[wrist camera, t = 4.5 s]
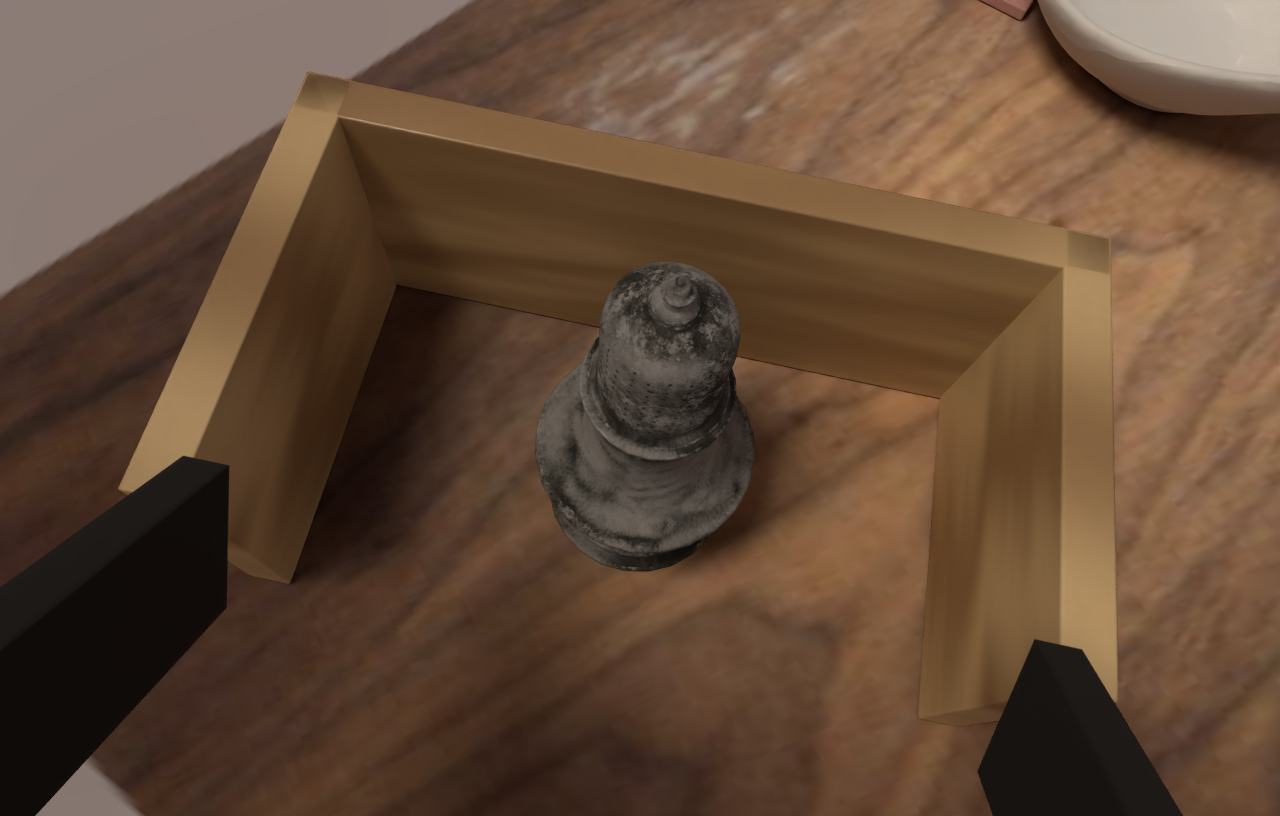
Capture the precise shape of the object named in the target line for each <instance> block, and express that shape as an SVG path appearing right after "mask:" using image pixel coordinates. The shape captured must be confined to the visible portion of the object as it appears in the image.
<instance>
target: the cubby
mask: <svg viewBox="0 0 1280 816" xmlns="http://www.w3.org/2000/svg"><path fill="white" fill-rule="evenodd" d="M657 262H677V263H682V264H686V265H689V266H693V267H696V268H698V269H700V270H702V271H703V272H705V273H707V274H709V275H711V276H712V277H713V278H714V279H715V280H717V281H718V282H719V283H720V284H721V285H722V286H723V287H724V288H725V289H726V291H727V292H728V294H729V295H730V297H731V298H732V299H733V301H734V304H735V306H736V309H737V312H738V315H739V321H740V338H741V340H740V344H739V349H738V353H737V356H740V357H745V358H749V359H754V360H759V361H764V362H768V363H773V364H778V365H783V366H788V367H792V368H797V369H802V370H807V371H811V372H816V373H821V374H826V375H830V376H835V377H840V378H845V379H850V380H854V381H859V382H864V383H869V384H873V385H878V386H883V387H888V388H892V389H897V390H902V391H907V392H912V393H916V394H921V395H926V396H931V397H935V398H940V405H939V420H938V434H937V449H936V463H935V478H934V492H933V507H932V521H931V535H930V550H929V564H928V579H927V593H926V608H925V622H924V637H923V651H922V666H921V680H920V695H919V709H918V717H919V718H920V719H923V720H927V721H932V722H937V723H941V724H946V725H951V726H955V727H960V726H966V725H973V724H979V723H986V722H992V721H999V720H1000V718H1001V716H1002V713H1003V711H1004V709H1005V706H1006V704H1007V702H1008V699H1009V697H1010V695H1011V692H1012V690H1013V688H1014V686H1015V683H1016V681H1017V679H1018V676H1019V674H1020V672H1021V669H1022V667H1023V665H1024V662H1025V660H1026V658H1027V655H1028V653H1029V651H1030V648H1031V646H1032V644H1033V642H1034V639H1037V640H1041V641H1046V642H1050V643H1055V644H1060V645H1064V646H1069V647H1074V648H1078V649H1082V650H1083V651H1084V653H1085V655H1086V656H1087V658H1088V660H1089V661H1090V663H1091V665H1092V666H1093V668H1094V670H1095V671H1096V673H1097V675H1098V676H1099V678H1100V680H1101V681H1102V683H1103V684H1104V686H1105V688H1106V689H1107V691H1108V693H1109V694H1110V696H1111V698H1112V699H1113V701H1114V703H1115V702H1117V701H1118V657H1117V596H1116V535H1115V475H1114V414H1113V353H1112V293H1111V239H1110V238H1109V237H1104V236H1100V235H1095V234H1090V233H1085V232H1080V231H1076V230H1071V229H1066V228H1061V227H1056V226H1051V225H1047V224H1042V223H1037V222H1032V221H1027V220H1022V219H1018V218H1013V217H1008V216H1003V215H998V214H993V213H989V212H984V211H979V210H974V209H969V208H964V207H960V206H955V205H950V204H945V203H940V202H935V201H931V200H926V199H921V198H916V197H911V196H906V195H902V194H897V193H892V192H887V191H882V190H877V189H873V188H868V187H863V186H858V185H853V184H848V183H844V182H839V181H834V180H829V179H824V178H819V177H815V176H810V175H805V174H800V173H795V172H790V171H786V170H781V169H776V168H771V167H766V166H761V165H757V164H752V163H747V162H742V161H737V160H732V159H728V158H723V157H718V156H713V155H708V154H703V153H699V152H694V151H689V150H684V149H679V148H674V147H670V146H665V145H660V144H655V143H650V142H645V141H641V140H636V139H631V138H626V137H621V136H616V135H612V134H607V133H602V132H597V131H592V130H587V129H583V128H578V127H573V126H568V125H563V124H558V123H554V122H549V121H544V120H539V119H534V118H529V117H525V116H520V115H515V114H510V113H505V112H500V111H496V110H491V109H486V108H481V107H476V106H471V105H467V104H462V103H457V102H452V101H447V100H442V99H438V98H433V97H428V96H423V95H418V94H413V93H409V92H404V91H399V90H394V89H389V88H384V87H380V86H375V85H370V84H365V83H360V82H355V81H352V80H347V79H342V78H338V77H333V76H328V75H323V74H318V73H313V72H308V73H307V75H306V77H305V79H304V81H303V83H302V85H301V88H300V90H299V93H298V94H297V96H296V99H295V101H294V103H293V105H292V108H291V110H290V112H289V114H288V116H287V118H286V121H285V123H284V125H283V127H282V129H281V132H280V134H279V136H278V138H277V140H276V143H275V145H274V147H273V149H272V151H271V154H270V156H269V158H268V160H267V162H266V165H265V167H264V169H263V171H262V173H261V176H260V178H259V180H258V182H257V184H256V187H255V189H254V191H253V193H252V195H251V198H250V200H249V202H248V204H247V206H246V209H245V211H244V213H243V215H242V217H241V220H240V222H239V224H238V226H237V228H236V231H235V233H234V235H233V237H232V239H231V242H230V244H229V246H228V248H227V250H226V253H225V255H224V257H223V259H222V261H221V264H220V266H219V268H218V270H217V272H216V275H215V277H214V279H213V281H212V283H211V286H210V288H209V290H208V292H207V294H206V297H205V299H204V301H203V303H202V305H201V308H200V310H199V312H198V314H197V316H196V319H195V321H194V323H193V325H192V327H191V330H190V332H189V334H188V336H187V338H186V341H185V343H184V345H183V347H182V349H181V352H180V354H179V356H178V358H177V360H176V363H175V365H174V367H173V369H172V371H171V374H170V376H169V378H168V380H167V382H166V385H165V387H164V389H163V391H162V393H161V396H160V398H159V400H158V402H157V404H156V407H155V409H154V411H153V413H152V415H151V418H150V420H149V422H148V424H147V426H146V429H145V431H144V433H143V435H142V437H141V440H140V442H139V444H138V446H137V448H136V451H135V453H134V455H133V457H132V459H131V462H130V464H129V466H128V468H127V470H126V473H125V475H124V477H123V479H122V481H121V484H120V486H119V490H120V491H122V492H123V493H125V494H126V495H129V494H131V493H132V492H133V491H135V490H136V489H137V488H139V487H140V486H142V485H143V484H144V483H146V482H147V481H149V480H150V479H151V478H153V477H154V476H155V475H157V474H158V473H160V472H161V471H162V470H164V469H165V468H167V467H168V466H169V465H171V464H172V463H173V462H175V461H176V460H178V459H179V458H180V457H182V456H188V457H192V458H197V459H202V460H206V461H211V462H216V463H220V464H225V465H229V512H228V560H227V561H229V562H230V563H232V564H233V565H235V566H236V567H238V568H239V569H241V570H242V571H244V572H245V573H247V574H248V575H250V576H254V577H259V578H264V579H268V580H273V581H278V582H282V583H287V584H289V583H290V582H291V580H292V577H293V574H294V571H295V568H296V566H297V563H298V560H299V557H300V554H301V552H302V549H303V546H304V543H305V540H306V538H307V535H308V532H309V529H310V526H311V524H312V521H313V518H314V515H315V512H316V510H317V507H318V504H319V501H320V498H321V496H322V493H323V490H324V487H325V484H326V482H327V479H328V476H329V473H330V470H331V468H332V465H333V462H334V459H335V456H336V454H337V451H338V448H339V445H340V442H341V440H342V437H343V434H344V431H345V428H346V426H347V423H348V420H349V417H350V415H351V412H352V409H353V406H354V403H355V401H356V398H357V395H358V392H359V389H360V387H361V384H362V381H363V378H364V375H365V373H366V370H367V367H368V364H369V361H370V359H371V356H372V353H373V350H374V347H375V345H376V342H377V339H378V336H379V333H380V331H381V328H382V325H383V322H384V319H385V317H386V314H387V311H388V308H389V305H390V303H391V300H392V297H393V294H394V291H395V289H396V286H397V285H401V286H406V287H411V288H416V289H420V290H425V291H430V292H435V293H439V294H444V295H449V296H454V297H458V298H463V299H468V300H473V301H478V302H482V303H487V304H492V305H497V306H501V307H506V308H511V309H516V310H520V311H525V312H530V313H535V314H540V315H544V316H549V317H554V318H559V319H563V320H568V321H573V322H578V323H582V324H587V325H592V326H597V327H600V316H601V312H602V309H603V306H604V303H605V300H606V298H607V297H608V295H609V293H610V292H611V290H612V289H613V288H614V286H615V285H616V283H617V282H618V281H619V280H620V279H621V278H623V277H624V276H625V275H626V274H627V273H629V272H630V271H632V270H634V269H637V268H639V267H641V266H643V265H646V264H651V263H657Z"/></svg>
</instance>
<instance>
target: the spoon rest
mask: <svg viewBox="0 0 1280 816" xmlns="http://www.w3.org/2000/svg"><path fill="white" fill-rule="evenodd" d="M1038 3H1039V6H1040V9H1041V12H1042V14H1043V16H1044V18H1045V21H1046V23H1047V25H1048V26H1049V28H1050V30H1051V31H1052V33H1053V35H1054V36H1055V38H1056V39H1057V41H1058V42H1059V43H1060V44H1061V46H1062V47H1063V48H1064V49H1065V51H1066V52H1067V53H1068V54H1069V55H1070V56H1071V57H1072V58H1073V59H1074V60H1075V61H1076V62H1077V63H1078V64H1079V65H1081V66H1082V67H1083V68H1084V69H1085V70H1087V71H1088V72H1089V73H1090V74H1091V75H1093V76H1094V77H1096V78H1097V79H1099V80H1100V81H1101V82H1102V83H1103V84H1104V85H1106V86H1107V87H1108V88H1109V89H1111V90H1112V91H1113V92H1115V93H1116V94H1118V95H1119V96H1121V97H1122V98H1124V99H1126V100H1128V101H1130V102H1132V103H1134V104H1136V105H1138V106H1141V107H1145V108H1148V109H1151V110H1155V111H1161V112H1170V113H1189V114H1196V115H1246V114H1276V113H1280V0H1038Z"/></svg>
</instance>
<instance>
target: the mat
mask: <svg viewBox="0 0 1280 816" xmlns="http://www.w3.org/2000/svg"><path fill="white" fill-rule="evenodd" d="M981 1H983V2H985V3H987V4H989V5H991V6H993V7H995V8H997V9H999V10H1001V11H1002V12H1004V13H1006V14H1008V15H1010V16H1012V17H1014V18H1016V19H1018V20H1022V18H1023V17H1024V15H1025V14H1026V12H1027V11H1028V9H1029V8H1030V6H1031V5H1032V3H1033V2H1034V0H981Z"/></svg>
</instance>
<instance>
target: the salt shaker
mask: <svg viewBox="0 0 1280 816" xmlns="http://www.w3.org/2000/svg"><path fill="white" fill-rule="evenodd" d="M740 340H741V338H740V321H739V315H738V312H737V309H736V306H735V304H734V301H733V299H732V298H731V297H730V295H729V294H728V292H727V291H726V289H725V288H724V287H723V286H722V285H721V284H720V283H719V282H718V281H717V280H715V279H714V278H713V277H712V276H711V275H709V274H707V273H705V272H703V271H702V270H700V269H698V268H696V267H693V266H689V265H686V264H682V263H677V262H657V263H651V264H646V265H643V266H641V267H639V268H637V269H634V270H632V271H630V272H629V273H627V274H626V275H625V276H624V277H623V278H621V279H620V280H619V281H618V282H617V283H616V285H615V286H614V288H613V289H612V290H611V292H610V293H609V295H608V297H607V298H606V300H605V303H604V306H603V309H602V312H601V316H600V331H599V337H598V338H597V339H596V340H595V342H594V343H593V345H592V346H591V347H590V349H589V350H588V352H587V353H586V356H585V359H584V362H582V363H581V364H579V365H578V366H577V367H576V368H575V369H573V370H572V371H571V372H570V373H569V374H568V375H566V376H565V377H564V378H563V379H562V380H561V381H560V382H559V383H558V385H557V386H556V388H555V389H554V391H553V392H552V393H551V395H550V396H549V398H548V399H547V401H546V402H545V405H544V408H543V411H542V413H541V416H540V419H539V422H538V425H537V430H536V447H535V457H536V461H537V466H538V470H539V474H540V479H541V483H542V485H543V487H544V488H545V490H546V492H547V494H548V496H549V498H550V499H551V502H552V506H553V511H554V515H555V517H556V519H557V521H558V523H559V524H560V526H561V528H562V530H563V532H564V534H565V535H566V537H567V538H568V539H569V540H570V541H571V542H572V543H573V544H574V545H575V546H576V547H577V548H578V549H579V550H580V551H581V552H582V553H584V554H585V555H587V556H589V557H590V558H592V559H594V560H595V561H597V562H599V563H600V564H602V565H606V566H609V567H613V568H616V569H620V570H623V571H652V570H656V569H660V568H664V567H668V566H671V565H673V564H675V563H677V562H679V561H680V560H682V559H684V558H686V557H688V556H690V555H691V554H692V553H693V552H694V551H695V550H696V549H697V548H698V547H699V546H700V545H701V544H702V543H703V542H704V541H705V540H706V539H707V538H708V536H709V535H710V534H712V533H714V532H715V531H716V530H717V529H718V528H719V527H720V526H721V525H722V524H723V523H724V522H725V521H726V520H727V519H728V518H729V517H730V516H731V515H732V514H733V513H734V512H735V510H736V508H737V507H738V505H739V503H740V501H741V500H742V498H743V496H744V494H745V493H746V491H747V489H748V487H749V483H750V479H751V474H752V470H753V466H754V462H755V458H754V436H753V431H752V428H751V425H750V422H749V419H748V416H747V413H746V410H745V408H744V406H743V405H742V403H741V402H740V400H739V399H738V397H737V396H736V379H735V376H734V373H733V370H732V367H733V364H734V362H735V359H736V356H737V353H738V349H739V344H740Z"/></svg>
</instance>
